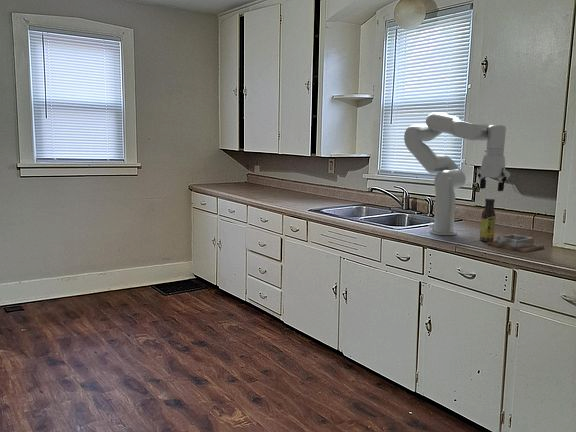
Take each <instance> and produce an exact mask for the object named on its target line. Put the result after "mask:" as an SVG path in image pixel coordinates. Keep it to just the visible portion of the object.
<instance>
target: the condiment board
mask: <svg viewBox="0 0 576 432" xmlns="http://www.w3.org/2000/svg"><path fill="white" fill-rule="evenodd" d="M486 242H487V243H486V245H487V246H490V245H491V246H492V247H495V246H496V247H495V248H500V247H501V249H504V250H505V249H506V250H510V251H514V250H516V251H515V252H519V251H520V252H521V253H528V252H531V251H537V250H542V249H545V246H544V245H542V244H537V243H535V237H531V236H525V235H519V234H514V233H512V234H506V235H500V236H497V240H493V241H486Z"/></svg>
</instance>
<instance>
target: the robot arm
mask: <svg viewBox="0 0 576 432" xmlns="http://www.w3.org/2000/svg"><path fill="white" fill-rule="evenodd" d="M425 123H426V124H413V125H409V126H408V127H407V128H406V129H405V131H404V135H403V139H404V140H403V141H404V144H405V147H406V148H407V150H408V151H409V153H411V154H412V155H413V156H414V157H415V159H416V160H417V161H418V163H420V165H421V166H422V168H424V169H425V171H426V172H427V173H429V174H433V175H435V177H434V188H435V189H434V190H435V191H434V192H435V197H434V198H435V199H434V200H435V202H434V203H435V204H434V221H433V222H430V223H429V224H428V227H429V228H432V229H431V230H430V234H433V235H435V236H436V235H438V236H456V235H457V234H458V232H457V230H454V229H455V225H454V224H455V215H456V214H455V212H456V209H455V208H456V193H455V190H454V189H459V188H460V189H461V188H462V187H463V186H464V185H465V184H466V181H467V178H466V175H465V173H464V171H463V170H462V169H461V168H460V167H459V166H458V164H457V163H456V162H455V161H454V160H453V159H452V158H450V156H449V155H446V154H437V153H435V152H434V151H433V150H432V149H431V147H429V145H427V144H426V143H425V142H429V141H430V142H431V141H432V140H434V139H435V138H437V137H438V136H440V135H442V134H443V133H445V134H449V135H453V136H455V137H457V138H460V139H464V140H468V141H469V140H470V141H486V149H484V152H485V154H484V155H483V157H482V161H481V166H480V168H478V169H477V170H476V173H477V177H478V179H479V189H486V187H487V186H486V185H487V180H486V179H487V178H491V179H492V178H495V179H497V180H498V181H499V182H497V183H498V184H497V191H498V192H504V188H505V183H506V181H508V180H509V178H510V176H511V172H510V171H508V170H506V158H505V157H506V156H505V155H504V153H505V143H506V133H507V132H506V131H507V127H506V125H502V124H485V123H472V122H467V121H463V120H461V119H460V117H457V116H453V115H449V114H448V113H446V112H431V113H429V114H428V115H427V117H426V119H425Z"/></svg>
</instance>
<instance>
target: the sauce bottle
mask: <svg viewBox="0 0 576 432" xmlns="http://www.w3.org/2000/svg"><path fill="white" fill-rule="evenodd" d="M494 206H495V198H485V205H484V209H483V211H482V213H481V217H480V219H481V220H480V228H479V229H480V230H479V241H481V242H492V241H494V238H495V231H496V219H497V215H496V212H495V209H494V208H495V207H494Z"/></svg>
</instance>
